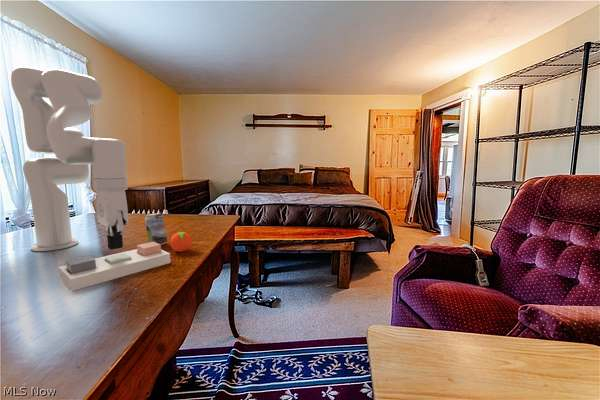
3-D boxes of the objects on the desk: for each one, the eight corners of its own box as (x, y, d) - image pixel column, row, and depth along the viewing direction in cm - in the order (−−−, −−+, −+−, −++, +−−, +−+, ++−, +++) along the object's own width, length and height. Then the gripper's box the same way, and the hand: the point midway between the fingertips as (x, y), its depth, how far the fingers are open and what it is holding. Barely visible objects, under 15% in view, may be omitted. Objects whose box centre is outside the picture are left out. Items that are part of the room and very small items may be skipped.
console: (59, 277, 73) (58, 266, 72) (152, 254, 91) (152, 245, 91) (72, 291, 65) (70, 279, 65) (170, 262, 84) (170, 253, 84)
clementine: (194, 253, 92) (193, 233, 91) (171, 257, 89) (170, 236, 88) (190, 247, 99) (190, 228, 98) (170, 249, 96) (168, 230, 95)
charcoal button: (66, 271, 71) (65, 260, 71) (90, 265, 75) (89, 255, 75) (72, 276, 68) (70, 265, 68) (96, 270, 72) (95, 259, 71)
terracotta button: (137, 254, 84) (136, 245, 84) (154, 250, 88) (153, 241, 88) (144, 258, 81) (143, 248, 81) (161, 253, 85) (160, 244, 85)
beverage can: (159, 248, 97) (157, 215, 96) (142, 246, 99) (139, 214, 97) (171, 243, 104) (169, 212, 102) (154, 241, 105) (152, 211, 103)
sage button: (105, 267, 78) (104, 257, 77) (125, 262, 82) (124, 253, 81) (112, 272, 75) (111, 261, 74) (131, 266, 79) (131, 256, 78)
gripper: (86, 182, 77) (91, 245, 80) (104, 188, 68) (109, 258, 71) (116, 181, 82) (120, 239, 85) (137, 186, 73) (140, 251, 76)
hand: (115, 247), depth 78 cm, fingers closed
